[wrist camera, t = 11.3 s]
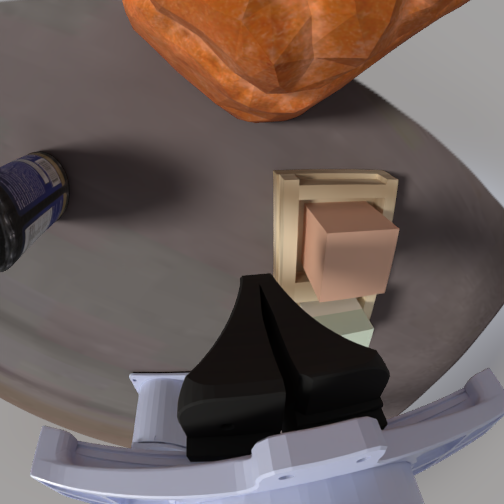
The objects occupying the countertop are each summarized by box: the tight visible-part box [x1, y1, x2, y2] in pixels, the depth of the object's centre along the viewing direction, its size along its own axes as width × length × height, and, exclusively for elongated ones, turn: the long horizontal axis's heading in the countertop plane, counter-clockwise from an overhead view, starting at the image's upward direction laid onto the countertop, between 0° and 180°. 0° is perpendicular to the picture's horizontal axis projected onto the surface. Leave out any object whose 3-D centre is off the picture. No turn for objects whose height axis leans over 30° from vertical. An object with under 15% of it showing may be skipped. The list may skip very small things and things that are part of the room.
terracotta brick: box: [301, 201, 399, 302], centre depth 20 cm, size 5×5×5 cm
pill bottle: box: [0, 152, 69, 272], centre depth 14 cm, size 6×6×11 cm
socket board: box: [273, 169, 398, 320], centre depth 24 cm, size 18×9×3 cm, turn 2°
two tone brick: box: [298, 298, 374, 347], centre depth 24 cm, size 5×5×5 cm
